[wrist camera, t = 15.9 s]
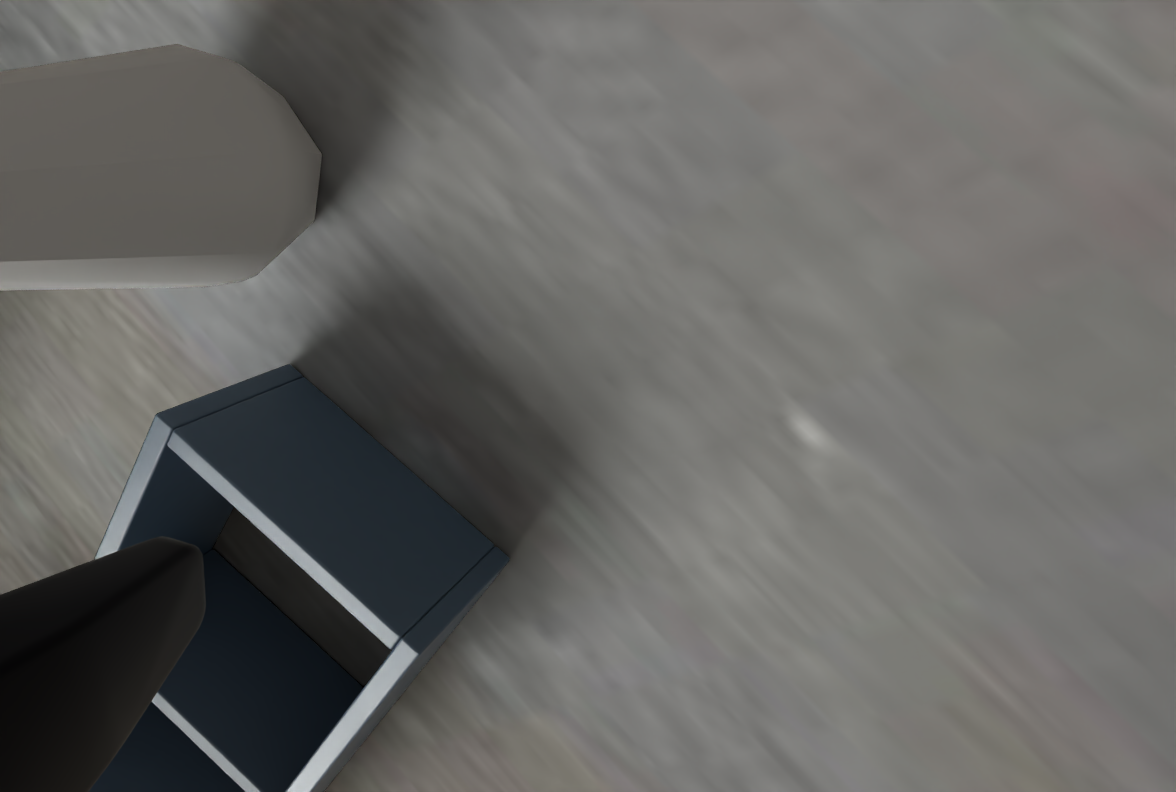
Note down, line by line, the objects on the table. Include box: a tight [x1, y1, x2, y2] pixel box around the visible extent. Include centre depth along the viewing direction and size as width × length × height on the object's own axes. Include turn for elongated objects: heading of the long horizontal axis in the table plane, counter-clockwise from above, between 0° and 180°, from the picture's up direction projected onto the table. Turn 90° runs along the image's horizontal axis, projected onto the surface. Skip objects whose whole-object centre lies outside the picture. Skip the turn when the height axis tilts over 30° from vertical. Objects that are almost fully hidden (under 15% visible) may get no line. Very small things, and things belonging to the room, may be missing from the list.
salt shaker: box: [0, 44, 322, 291], centre depth 17 cm, size 6×6×13 cm
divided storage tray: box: [88, 364, 510, 792], centre depth 25 cm, size 9×17×5 cm, turn 145°
